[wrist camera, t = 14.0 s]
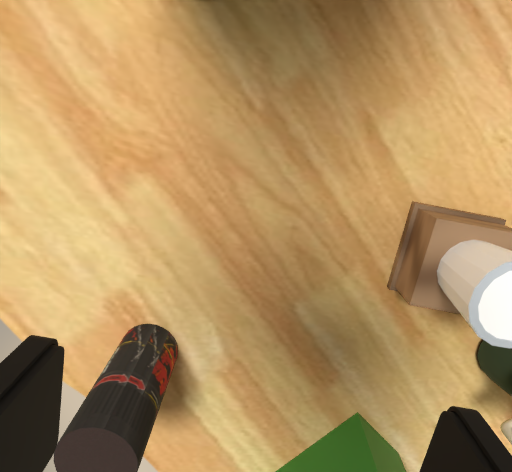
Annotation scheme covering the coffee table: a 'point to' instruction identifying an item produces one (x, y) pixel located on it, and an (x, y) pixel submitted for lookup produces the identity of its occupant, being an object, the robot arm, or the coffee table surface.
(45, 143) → the coffee table surface
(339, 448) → the hardback book
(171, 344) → the deodorant
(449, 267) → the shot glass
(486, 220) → the pedestal
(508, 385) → the character mug
